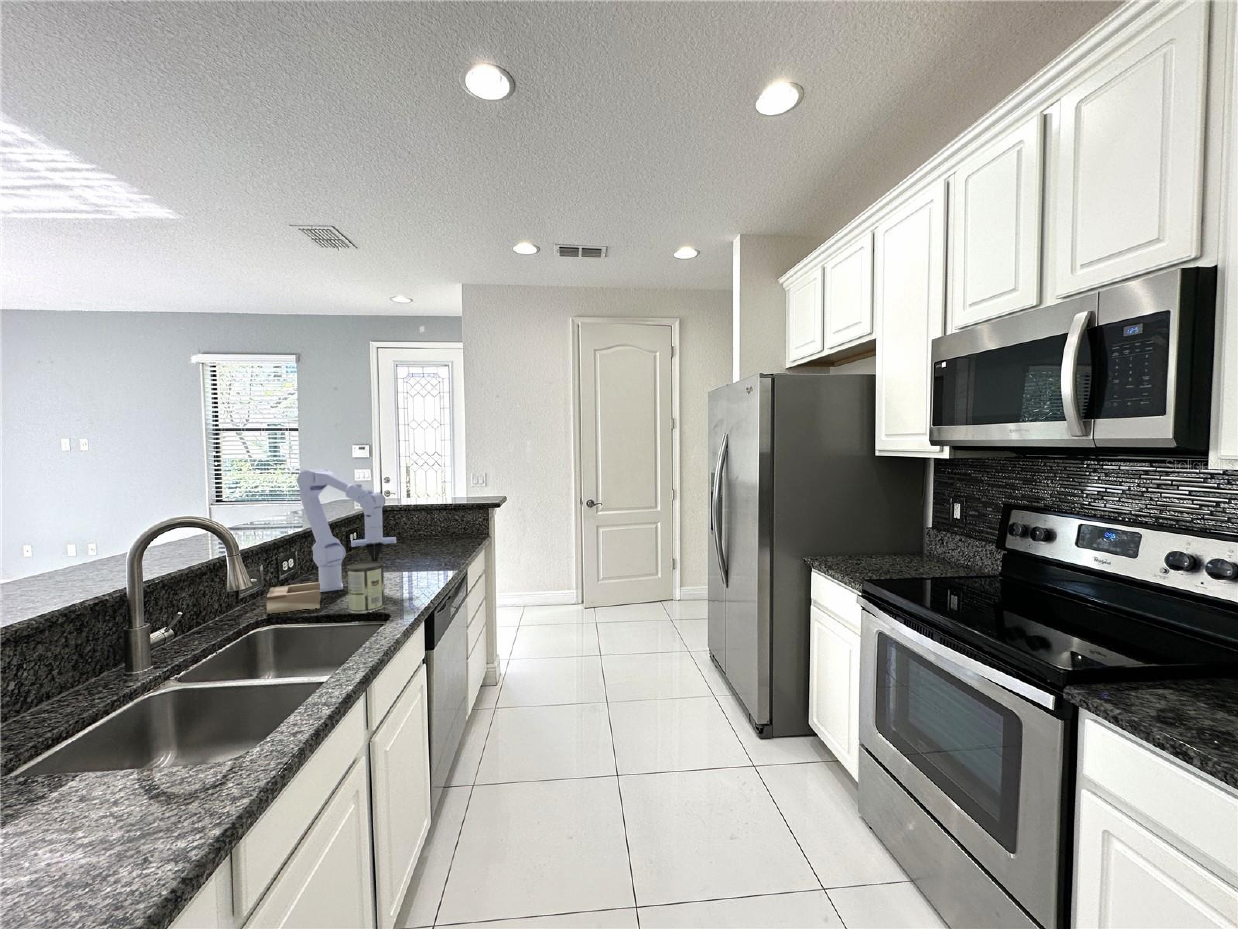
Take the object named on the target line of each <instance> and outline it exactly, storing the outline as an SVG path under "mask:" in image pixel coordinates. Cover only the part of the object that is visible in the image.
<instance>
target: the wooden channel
mask: <svg viewBox="0 0 1238 929" xmlns="http://www.w3.org/2000/svg"><path fill="white" fill-rule="evenodd" d="M309 590H311V591H309ZM301 591H304V592H301ZM292 592H296V593H292ZM320 600H321V592H320V582H319V581H317V582H308V583H300V584H292V585H284V586H283V585H282V586H275V587H270V588H269V591H268V593H267V596H266V614H267V613H278V612H288V611H295V610H302V609H310V610H316V609H315V608H317V609H320V608H321V604H320V602H321V601H320ZM302 611H303V610H302ZM295 612H296V611H295ZM288 613H289V612H288Z"/></svg>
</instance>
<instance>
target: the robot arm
mask: <svg viewBox="0 0 1238 929" xmlns="http://www.w3.org/2000/svg"><path fill="white" fill-rule="evenodd" d="M296 482H297V486H298V488H299V498H300V501H301V503H302V505H303V506H302V507H303V509H304V511H305V515H306V517H307V520H308V523H309V526H310V529H311V531H312V535H313V537H314V540H315V543H314V544H313V546H312V547H311V550H312V554H313V555H312V559H313V562H314V563H315V564H316V567H318V582H320V593H324V592H331V591H332V592H333V591H340V590H343V589H344V586H343V582H342V563H343V560H344V558H345V557H346V554H347V552H346V549H345V547H344V546H343V545H342V544H341V542H340V539H339V538H336V537H335V536H333V534H332V531H331V528H330V525H329V522H328V520H327V516H326V514H325V511H324V508H323V506H322V504H321V503H322V502H321V500H320V498H319V496H320V495H321V493H322V492H323V491H324V490H325V489H326V488H327V487H328V486H329V487H332V488H334V489H337V490H339V491H341V492H343V493H345V497H346V498H348V499H350V500H351V501H354V502H356V503H357V504H359V505H360V507H361V508H362V511H363V512H362V513H363V515H364V539H355V540H351V541H350V547H353V548H355V547H363V546H365V547H366V550H367V552H368V554H369V556H370V559H371V560H370V561H378V559H379V556H380V554H381V552H382V549H383V545H385V544H386V545H387V544H397V537H396V536H395V537H394V536H393V537H392V536H391V537H389V536H388V537H384V535H383V534H384V532H383V507H384V506H385V505H386V498H385V495H383V494H382V493H381V492H379V491H378V492H373V490H372V489H368V488H366V487H364V486H363V485H362V483H359V482H358V483H352V484H351V483H349V482H348V481H346V480H345V479H343V478H341V477H339V476H338V475H336V474H334V472H333V471H331V470H328V469H326V468H321V469H303V470H302V471H300V472H299V473H298V476H297V478H296ZM378 562H379V561H378Z"/></svg>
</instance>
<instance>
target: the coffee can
mask: <svg viewBox="0 0 1238 929" xmlns="http://www.w3.org/2000/svg"><path fill="white" fill-rule="evenodd" d="M346 568H347V569H346V570H347V583H348V585H347V586H348V587H347V588H348V593H347V594H348V612H349V613H351V614H368V613H367V612H370V611H373V610H377V609H380V610H382V609H384V608H385V592H384V591H385V590H384V589H385V588H384V562H382V561H372V560H370V561H361V562H354V563H352V564H349V565H347V566H346ZM383 607H384V608H383ZM370 613H371V612H370Z"/></svg>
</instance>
